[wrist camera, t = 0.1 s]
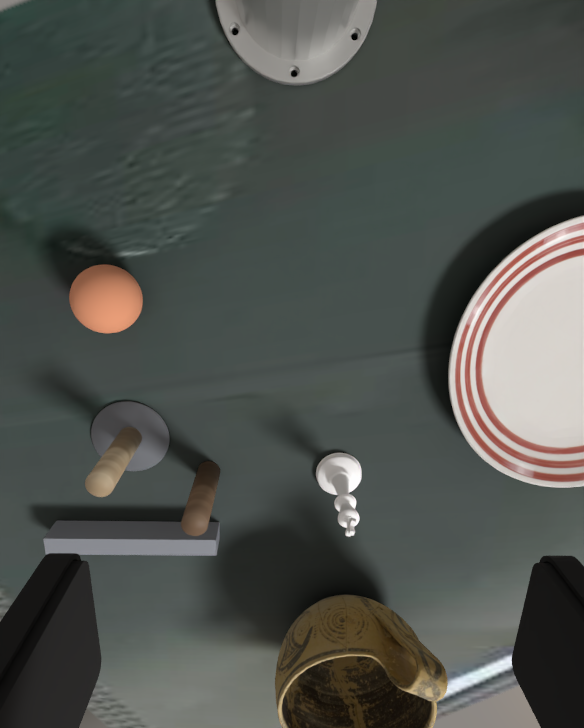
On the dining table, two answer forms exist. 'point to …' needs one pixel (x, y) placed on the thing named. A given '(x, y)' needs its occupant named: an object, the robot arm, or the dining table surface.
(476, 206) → the dining table surface
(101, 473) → the beech pin
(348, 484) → the chess piece
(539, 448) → the dinner plate
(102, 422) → the pin spot
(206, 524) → the walnut pin
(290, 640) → the ceramic bowl
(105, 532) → the back wall
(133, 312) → the ball
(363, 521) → the dining table surface
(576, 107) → the dining table surface
